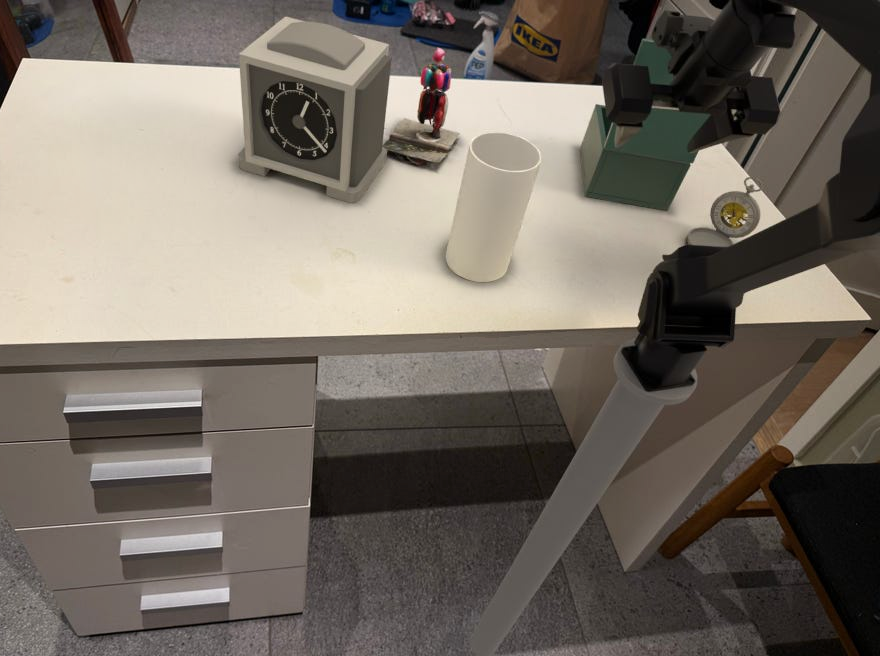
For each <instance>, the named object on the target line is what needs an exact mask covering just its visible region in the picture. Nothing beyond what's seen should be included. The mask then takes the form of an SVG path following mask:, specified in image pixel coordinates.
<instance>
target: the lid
mask: <svg viewBox="0 0 880 656" xmlns="http://www.w3.org/2000/svg"><path fill="white" fill-rule="evenodd" d="M670 60H671V56H670V54H669V53H668V51H667V50H666V48H659V47H657V46H656V44H655V43H654V41H653V40H652V39H648V38H641V42H640V44H639V47H638V50H637V53H636V56H635V58H634V60H633V63H632V65H639V66H648V70H649V76H650V82H651V84H662V85H670V82H671V80H672V79H673V74H668V69H667V64H668V62H669V61H670ZM710 115H711V114H700V113H688V112H679V110H672V109H660V108H652V109H651V113H650V115H649V116H648V117H647V119H646V120H645V121H642V125H643V127H642V128H641V129H640V130H639V131H638V132H637V133H636V134H634V135H633V136H632V137H631V138H630V139H629V140H628V141H627V142H626V143H625V144H623V145H622V146H620V147H619V148H617V147H615V142H614V139H615V133H616V127H617V125H616V124H615V123H612V124H611V127H610V130H609V133H608V136H607V138H606V141H605V144H604V148H606V149H612V150H618V151H623V152H629V153H635V154H641V155H646V156H652V157H658V158H664V159H669V160H675V161H681V162H686V163H690V164H694V162H695V160H696V158H697V156H698V153H699V151H696V152H693V153H688V151H687V145H688V143H689V142H690V140H691V139H692V137H693V136H694V134H695V133H696V132H697V131H698V130H699V128H700V127H701V126H702V125H703V124H704V122H705V121H706V120H707V119H708V118H709V116H710Z"/></svg>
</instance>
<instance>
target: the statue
mask: <svg viewBox="0 0 880 656" xmlns="http://www.w3.org/2000/svg"><path fill="white" fill-rule="evenodd" d="M445 55H446V52H445V50H444V49H442V48H441V47H436V48H435V51H434V53H433V56H432V58H433V61H434V63H431V64H428V65H426V66H425V67H424V68H423V69H422V71H421V76H420V85H421V86H422V87H423V89H422V91H421V92H420V96H419V101H418V107H417V115H416V117H417V120H418V121H416V120H411V119H410V118H403V120H401V122H400V123H399V124H398V126H397V127H395V129H394V130H393V131H392V132H391V133H390V134H389V137H388V140H386V141H385V142H384V143H383V144H382V147H384V148H385V149H386V150H387V153H390V152H391V153H392V154H394V155H395V156H396V157H397V158H398V159H400V160H402V159H404V157H406V158H407V159H408V160H409V161H410V163H413V164H416V165H417V166H421V165H426V164H427V161H428V162H434V163H438V164H439V163H441V161H442V160H443V159H444V158H445V157H447V155H448V154H449V150H452V149H453V146H454V143H455V142H457V141H458V137H459V136H460V135H461V134H460V132H458V131H453V130H450V129H446V128H442V127H444V125H445V121H446V117H447V114H448V109H449V98H448V95H447V93H446V92H448V91H449V90H450V88H451V82H452V69H451V68H449V66H448V65H444V64H443V63H442V62H444V60H445ZM426 121H429V124H427V123H425V122H426ZM403 156H404V157H403ZM429 166H431V164H429Z"/></svg>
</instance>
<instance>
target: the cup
mask: <svg viewBox="0 0 880 656" xmlns="http://www.w3.org/2000/svg"><path fill="white" fill-rule="evenodd" d="M541 162H542V154H541V152H540V150H539V148H538V147H537V146H536V145H535V144H533V143H532V142H531V141H529V140H528V139H526V138H525V137H522V136H520V135H517V134H513V133H509V132H502V131H488V132H483V133H480V134H478V135H476V136H474V137H473V138H472V139H471V141H470V144H469V145H468V150H467V155H466V159H465V164H464V168H463V172H462V177H461V181H460V186H459V191H458V196H457V201H456V205H455V209H454V215H453V218H452V224H451V229H450V233H449V238H448V242H447V248H446V250H445V251H446V252H445V262H446V264H447V267H449V269H450V270H451V271H452V272H453V273H455V274H456V275H457V276H459V277H461V278H463V279H465V280H468V281H471V282H476V283H490V282H495V281H498V280H499V279H501V278H502V277H504V276H505V275H506V273H507V271H508V269H509V265H510V262H511V260H512V256H513V252H514V250H515V247H516V243H517V240H518V238H519V234H520V231H521V227H522V224H523V222H524V218H525V215H526V211H527V208H528V205H529V202H530V199H531V195H532V192H533V189H534V186H535V183H536V178H537V176H538V172H539V171H540V166H541Z"/></svg>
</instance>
